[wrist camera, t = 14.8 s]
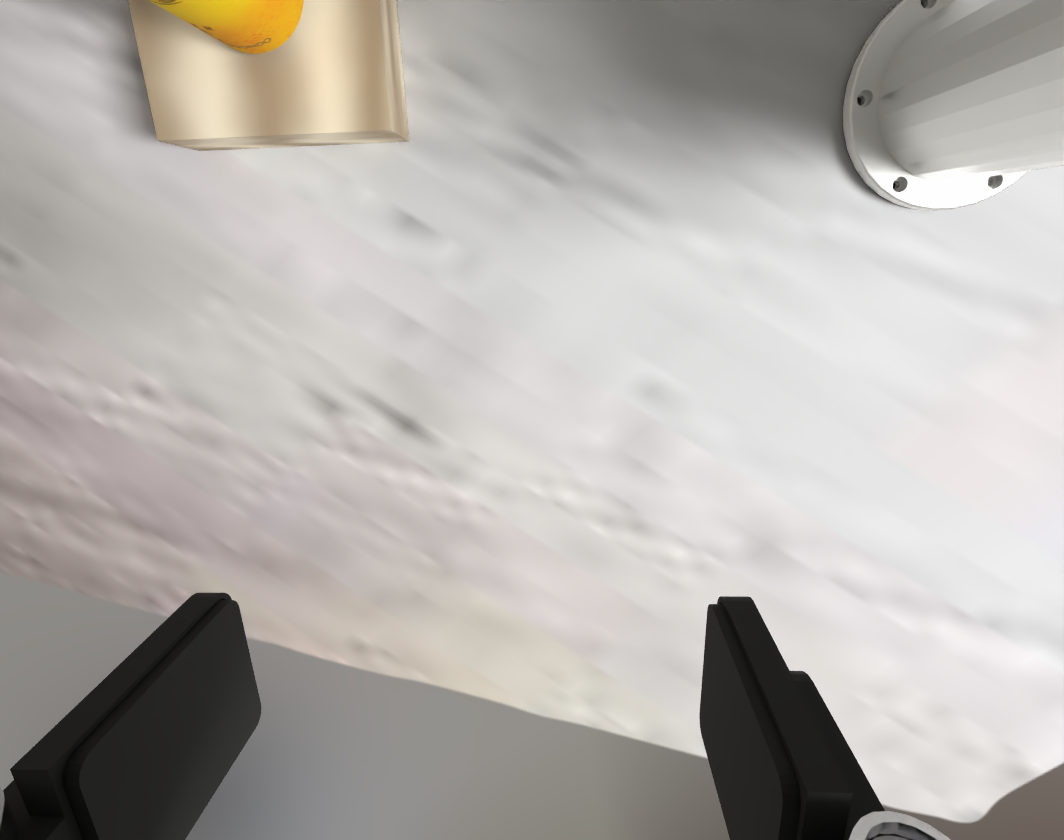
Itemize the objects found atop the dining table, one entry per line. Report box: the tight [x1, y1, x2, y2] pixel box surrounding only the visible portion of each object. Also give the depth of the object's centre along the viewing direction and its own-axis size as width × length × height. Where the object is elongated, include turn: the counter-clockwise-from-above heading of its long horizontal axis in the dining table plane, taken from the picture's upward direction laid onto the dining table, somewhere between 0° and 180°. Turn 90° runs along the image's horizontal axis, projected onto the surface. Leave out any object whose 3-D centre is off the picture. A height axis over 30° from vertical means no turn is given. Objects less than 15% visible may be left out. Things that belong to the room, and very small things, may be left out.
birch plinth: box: [128, 0, 409, 151], centre depth 32 cm, size 14×14×4 cm
